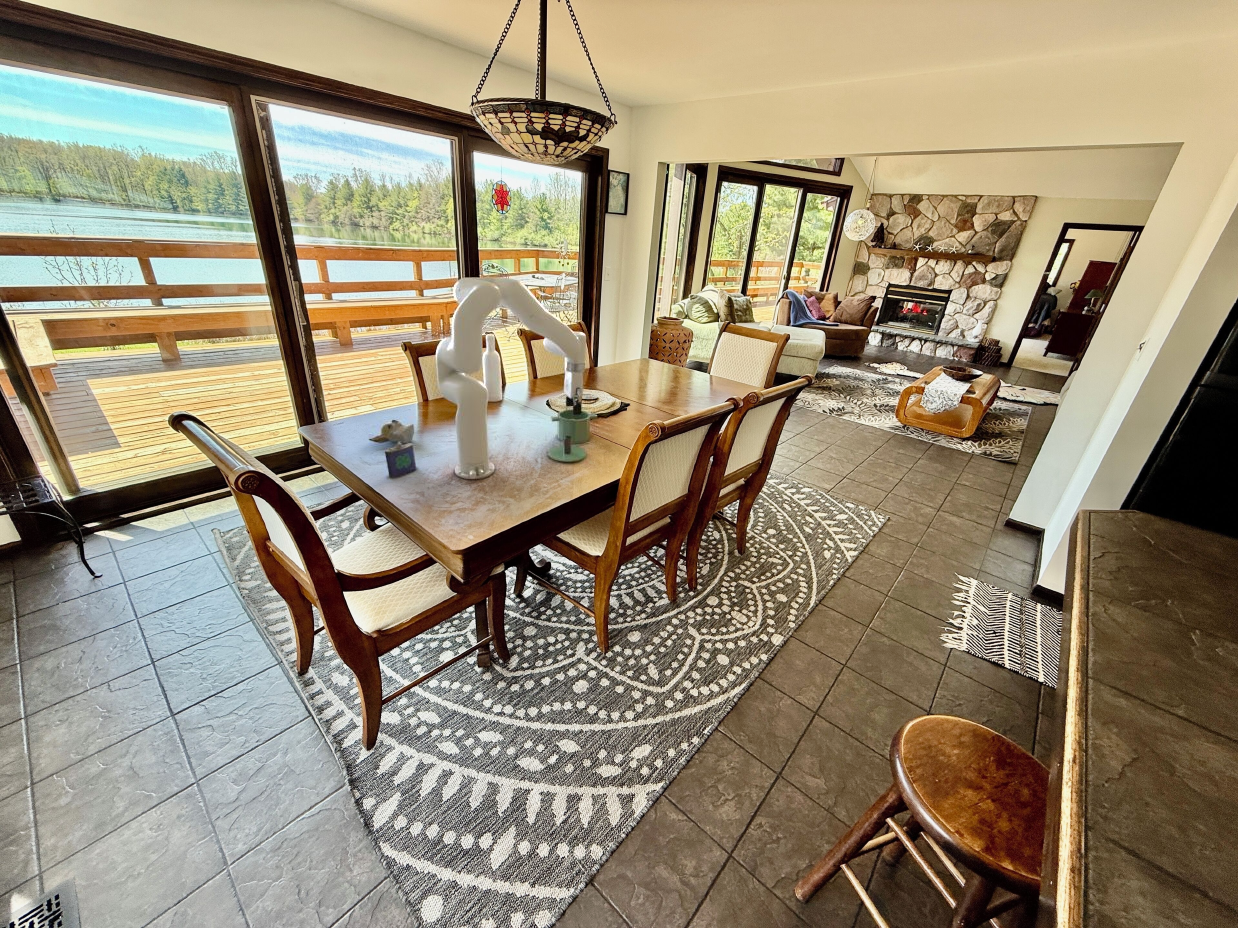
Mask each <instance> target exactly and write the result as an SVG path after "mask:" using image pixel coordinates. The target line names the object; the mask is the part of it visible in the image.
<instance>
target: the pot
mask: <svg viewBox="0 0 1238 928" xmlns="http://www.w3.org/2000/svg"><path fill="white" fill-rule="evenodd" d="M570 419H575V420H570ZM591 419H593V420H594V419H598V415H597V414H595V413H590V412H588V411H586V410H582V409H581V414H580V415H573V408H571V409H570V408H569V409H564V410H560V411H559V412H557V416H550V420H551V422H557V432H556V434H557V435H556V436H557V439H558V440H559V441H561V442H563V443H564V436H570V437H571V444H574V445H575V444H583V443H585V442H587V441H589V440H590V437H591Z"/></svg>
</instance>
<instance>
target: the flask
mask: <svg viewBox="0 0 1238 928" xmlns="http://www.w3.org/2000/svg"><path fill="white" fill-rule="evenodd" d="M396 443H397V445H395V446H394V447H392V448H391V447H389V448H387V449H386V450H384V454H385V455H384V456H385V460H386V461H385V462H386V466H387V467H386V468H387V471H388V477H389V478H390V479H395V478H399V477H401V476H405V475H406V474H410V473H412V472H414V471H416V470H417V464H416V456H415V450H414V444H413V443H411V442H410V443H407V444H406V443H404V442H402V441H398V442H396ZM403 443H404V444H403Z"/></svg>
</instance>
